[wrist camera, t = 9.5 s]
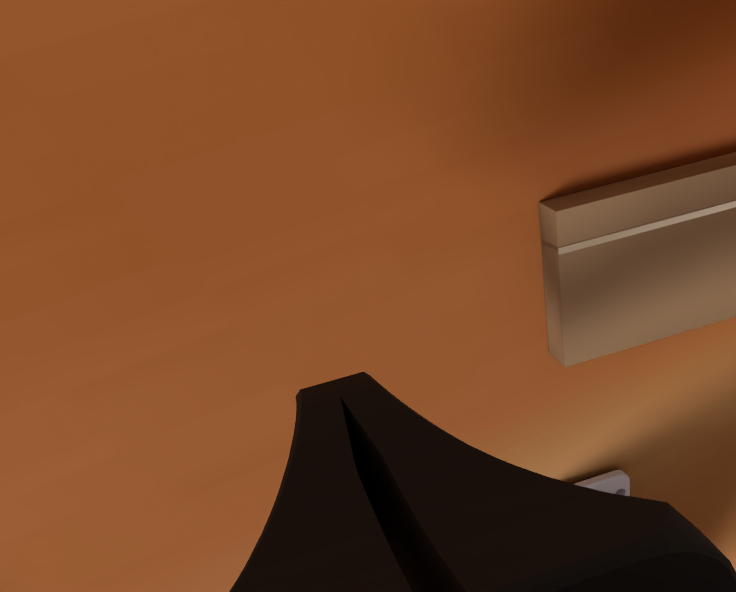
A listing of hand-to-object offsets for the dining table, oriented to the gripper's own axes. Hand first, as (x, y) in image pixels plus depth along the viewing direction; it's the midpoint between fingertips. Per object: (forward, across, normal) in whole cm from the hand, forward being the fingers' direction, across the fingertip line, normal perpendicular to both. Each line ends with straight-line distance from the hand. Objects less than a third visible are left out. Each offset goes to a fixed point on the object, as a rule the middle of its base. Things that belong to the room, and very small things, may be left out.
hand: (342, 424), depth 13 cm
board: (+10, -18, +4) cm, 21 cm away
